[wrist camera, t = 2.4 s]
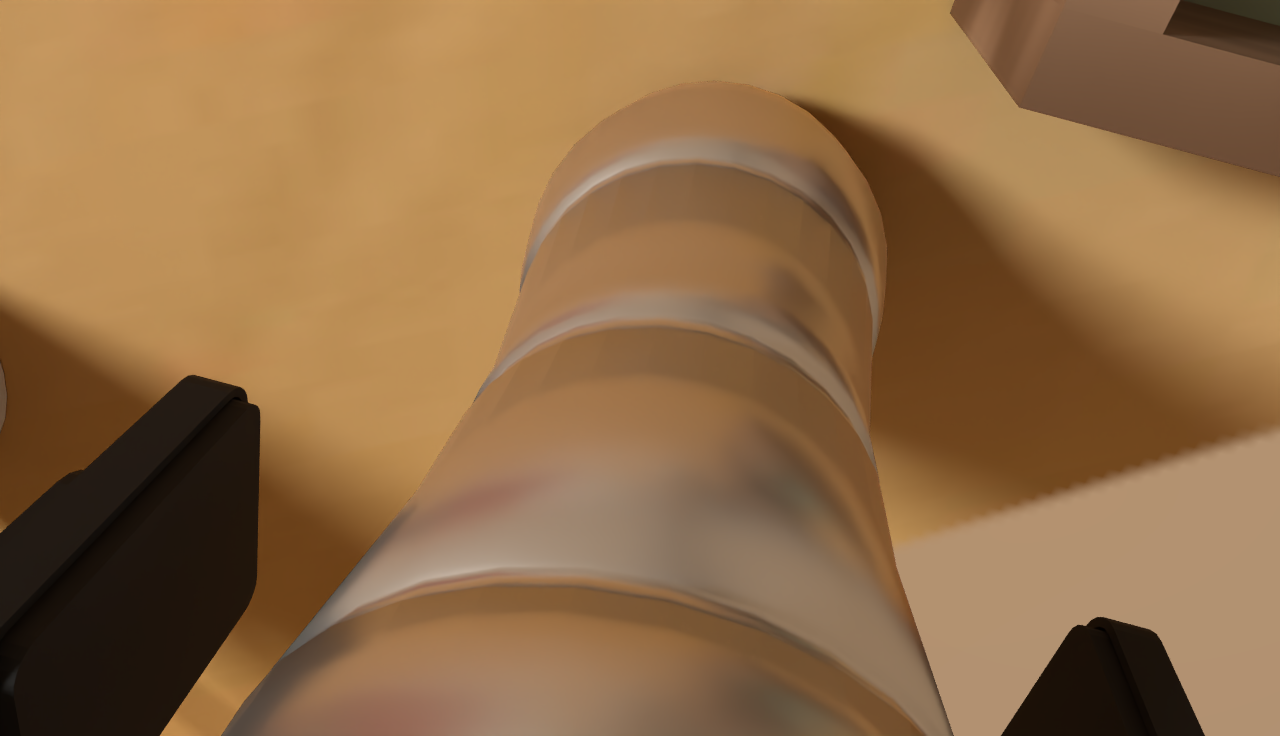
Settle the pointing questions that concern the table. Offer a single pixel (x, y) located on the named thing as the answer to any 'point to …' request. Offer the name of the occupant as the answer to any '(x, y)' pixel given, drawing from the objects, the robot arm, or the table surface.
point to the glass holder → (2, 398)
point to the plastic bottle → (650, 470)
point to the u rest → (1143, 68)
